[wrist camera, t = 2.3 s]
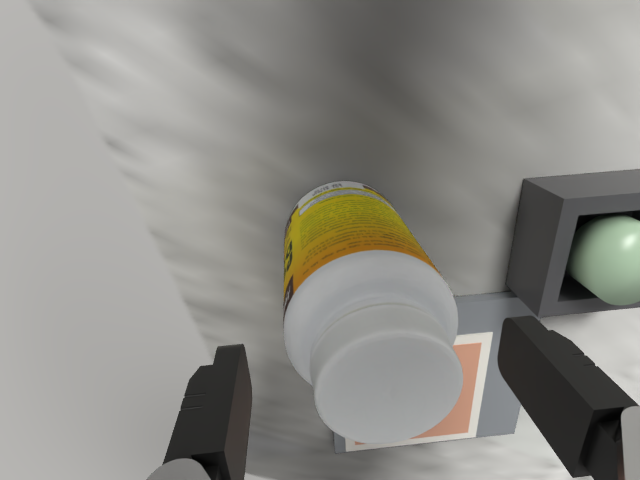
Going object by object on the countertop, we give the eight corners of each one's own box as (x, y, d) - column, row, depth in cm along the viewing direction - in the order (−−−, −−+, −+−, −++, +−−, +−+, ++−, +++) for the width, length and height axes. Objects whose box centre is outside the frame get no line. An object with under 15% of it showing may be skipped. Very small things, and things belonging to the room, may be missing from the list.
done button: (572, 216, 17) (606, 234, 15) (650, 209, 17) (691, 227, 16) (556, 285, 19) (585, 309, 17) (627, 278, 19) (663, 301, 17)
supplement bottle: (269, 195, 18) (251, 338, 9) (385, 163, 18) (490, 276, 9) (301, 292, 20) (313, 484, 11) (403, 264, 20) (502, 438, 11)
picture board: (325, 309, 21) (326, 317, 20) (539, 288, 22) (547, 296, 21) (334, 445, 26) (335, 455, 25) (509, 425, 26) (515, 435, 26)
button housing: (524, 178, 19) (564, 199, 16) (642, 169, 19) (702, 187, 16) (505, 284, 21) (537, 317, 19) (610, 274, 22) (657, 305, 19)
